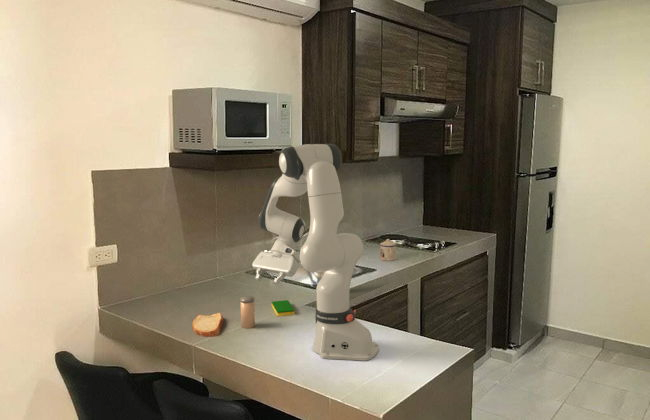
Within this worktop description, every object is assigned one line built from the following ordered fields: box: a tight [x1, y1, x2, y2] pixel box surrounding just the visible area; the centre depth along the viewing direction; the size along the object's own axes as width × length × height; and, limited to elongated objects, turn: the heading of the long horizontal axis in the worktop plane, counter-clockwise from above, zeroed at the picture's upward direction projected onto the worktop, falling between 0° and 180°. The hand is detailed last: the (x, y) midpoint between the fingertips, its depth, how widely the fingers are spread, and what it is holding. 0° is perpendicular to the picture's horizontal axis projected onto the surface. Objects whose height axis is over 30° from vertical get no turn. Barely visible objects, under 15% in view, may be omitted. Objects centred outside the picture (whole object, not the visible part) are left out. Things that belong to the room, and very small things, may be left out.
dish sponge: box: [271, 299, 296, 317], centre depth 230 cm, size 7×14×2 cm, turn 15°
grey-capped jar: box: [239, 295, 256, 329], centre depth 211 cm, size 5×5×11 cm
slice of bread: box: [191, 312, 224, 338], centre depth 212 cm, size 18×18×4 cm
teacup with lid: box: [379, 238, 397, 262], centre depth 313 cm, size 12×9×12 cm
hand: (266, 281), depth 219 cm, fingers open, 8 cm apart
